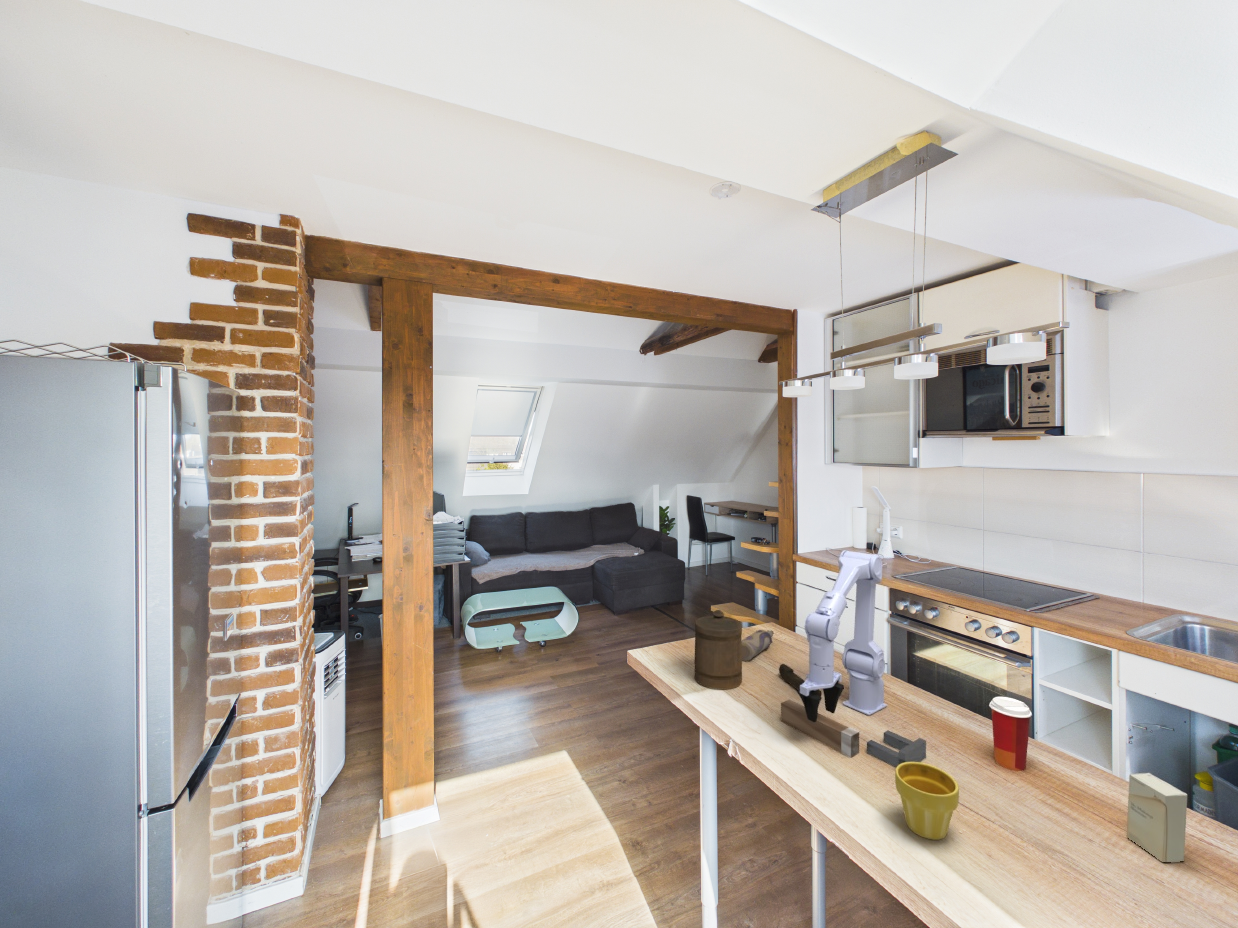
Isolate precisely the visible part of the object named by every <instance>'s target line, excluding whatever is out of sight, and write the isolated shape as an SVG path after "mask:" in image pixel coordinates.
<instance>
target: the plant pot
mask: <svg viewBox="0 0 1238 928" xmlns="http://www.w3.org/2000/svg"><path fill="white" fill-rule="evenodd" d="M894 776H895V777H894V778H895V781H894V782H895V789H896V791H897V793H898V795H899V796H900V799H901V805H902V808H903V809H902V810H903V812H904V817H905V818H904V819H905V822H906V825H907V826H908V828H909V829H910V830H911V831H912V832H914V833H915V834H917V835H918V836H920V837H922V838H924V839H928V840H934V841H935V840H938V841H939V840H942V839H944V838H945V837H946V836H947V834H948V831H949V827H950V825H951V824H950V823H951V820H952V816H953V813H954V812H955V810H956V809H957V808H958V806H959V800H960V799H959V798H960V786H959V784H958V782H957V780H956V779H955V778H954V777H953V776H952V775H951V774H950V773H948V772H946V771H945V770H943V769H941V768H939V767H937V766H935V765H932V764H929V763H924V762H921V761H920V762H905V763H901V764H899V765H898V766H897V767H895V771H894Z"/></svg>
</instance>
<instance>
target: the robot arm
mask: <svg viewBox="0 0 1238 928" xmlns="http://www.w3.org/2000/svg"><path fill="white" fill-rule="evenodd" d="M883 566H884V565H883V560H882V559H881V557H880V555H879V554H877V553H876V554H875V553H874V554H872V553H867V552H866V553H865V552H859V551H851V550H847V549H845V550H842V551H841V553H840V554H839V557H838V569H839V572H838V574H837V576H836V580H835V582H834V584H833V586H832V589H831V590H829V591H826V592H824V595H823V597H822V598H821V600H820V601H819V604H818V605H817V607H816V609H815V611H814V612H811V613H809V614H808V615H807V616H806V617H805V621H804V626H803V627H804V631H805V634H806V641H807V642H808V644H809V645H808V646H809V647H808V658H809V659H808V663H809V664H808V669H809V670H808V673H806V674H805V678H806V679H805V680H804V681H805V682H804V683H803V684H802V685H800V689H797V694H798V696H799V698H800V699H801V702H802V703H803V706H804V707H805V711H806V714H807V718H808V720H810V721H812V722H816V721H817V715H818V713H819V712H818V711H819V706H820V703H821V701H822V699H823V697H824V707H825V711H827V712H829V713H831V714H835V713H836V709H837V706H838V702H839V699H840V696H841V694H842V693H843V691H845V685H844V684H842V683H841V682H842V681H843V678H842V677H843V675H842V673H840V672H838V671H835V670H834V669H835V667H834V666H835V664H834V662H835V661H834V657H835V655H834V654H835V653H834V652H835V651H834V650H835V649H834V648H835V647H834V645H835V644H834V643H835V639H836V638H837V636H838V634H839V627H840V624H841V621H840V619H841V617H842V615H843V613H844V611H845V609H846V607H847V605H848V602H847V599H846V597H847V596H848V594H849V593H850V591H851V590H852V588H853V587H854V585H855V584H856V590H855V591H856V592H855V611H854V612H855V613H854V614H855V615H854V627H853V628H854V631H853V632H854V633H853V638H852V639H850V640H848V641H847V642H846V643H845V644H844V651H843V653H842V658H841V660H842V661H841V662H842V665H843V668H844V669H845V670H846V673H847V674H848V676H849V677H848V678H849V679H848V680H849V683H848V684H849V685H848V686H849V687H848V689H849V692H848V693H849V694H848V698H849V699H847V700H845V701H843V702H842V705H844V706H846V707H848V708H851V709H852V710H855V711H857V712H860V713H862V714H864V715H867V716H871V715H873V714H875V713H877V712H879V711H881V710H883V709H884V708H886V707H888V704H887V703H885V701H884V700H885V698H884V697H885V694H884V693H885V683H884V680H883V678H882V677H883V675H884V674H885V670H886V663H885V662H886V661H885V656H884V655H885V654H884V650H883V648H881V647H880V646H879V645H878V643H876V642H875V641H874V635H875V634H874V633H875V631H874V629H875V614H876V613H875V607H876V590H877V589H876V588H877V584H879V583H882V579H883ZM818 689H819V690H823V691H822V692H823V697H822V696H821V697H820V696H818V695H816V693H815V690H818Z"/></svg>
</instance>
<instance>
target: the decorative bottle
mask: <svg viewBox="0 0 1238 928" xmlns="http://www.w3.org/2000/svg"><path fill="white" fill-rule="evenodd" d="M774 634H775V633H774V630H770V629H769V630H764V629H758V630H756V631H754V632H753V633H752V634H750V635H748V636H746V637H745V638H743V639H741V641H742V662H748V661H752V659H753V658H754V657H756V656H757V655H758V654H760V653H761V652H763V651H764V650H768V647H770V646H771V644H772V643H773V639H772V638H773V636H774Z"/></svg>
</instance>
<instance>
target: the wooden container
mask: <svg viewBox="0 0 1238 928" xmlns="http://www.w3.org/2000/svg"><path fill="white" fill-rule="evenodd" d="M694 627H695V628H694V632H695V633H694V634H695V635H694V640H695V641H694V680H695V681H696V682H697V684H699V685H701V686H703V687H705V688H709V689H712V690H731V689H736V688H737V687H739V686H741V684H742V682H743V661H742V635H743V634H742V632H743V625H742V622H741V621H740V620H738V619H736V618H733V617H730V616H729V617H728V616H725V613H724V612H723V611H722V610H720V609H715V610H714V611H713V612H712V615H705V616H701V617H699V618H697V619H696V620H695V624H694Z"/></svg>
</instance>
